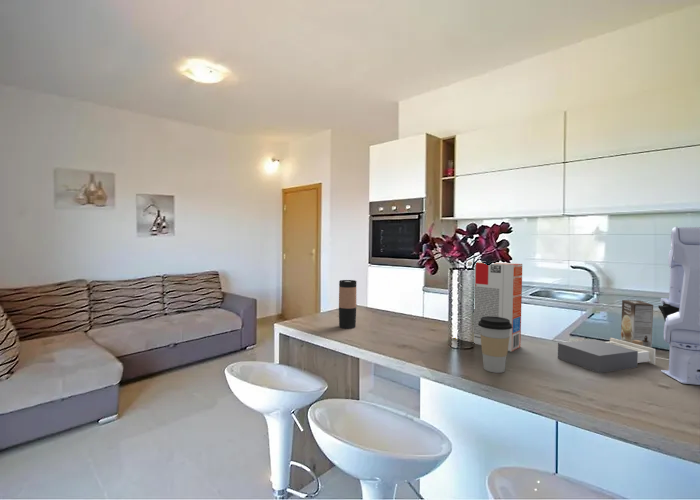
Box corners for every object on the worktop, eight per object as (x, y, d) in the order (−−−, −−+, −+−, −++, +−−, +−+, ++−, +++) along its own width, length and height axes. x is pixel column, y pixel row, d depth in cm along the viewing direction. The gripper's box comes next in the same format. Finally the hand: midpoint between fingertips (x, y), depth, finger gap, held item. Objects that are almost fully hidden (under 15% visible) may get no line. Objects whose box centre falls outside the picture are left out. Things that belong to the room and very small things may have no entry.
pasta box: (520, 346, 133) (522, 263, 133) (511, 351, 128) (513, 264, 127) (461, 334, 149) (463, 260, 149) (451, 338, 144) (452, 261, 143)
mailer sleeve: (598, 372, 108) (599, 355, 107) (557, 358, 121) (558, 342, 121) (637, 367, 113) (637, 351, 113) (593, 353, 126) (594, 339, 126)
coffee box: (619, 341, 143) (621, 299, 142) (638, 342, 141) (639, 300, 141) (632, 347, 134) (634, 303, 133) (653, 349, 132) (654, 304, 132)
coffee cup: (502, 364, 114) (503, 315, 114) (517, 375, 105) (518, 322, 105) (472, 364, 114) (473, 315, 114) (484, 375, 105) (485, 322, 104)
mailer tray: (618, 369, 110) (619, 351, 110) (576, 354, 123) (576, 339, 123) (662, 362, 116) (663, 346, 116) (618, 349, 130) (618, 335, 130)
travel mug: (335, 325, 163) (336, 280, 162) (351, 324, 166) (352, 279, 166) (342, 329, 156) (343, 282, 155) (359, 327, 159) (359, 281, 159)
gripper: (651, 284, 123) (649, 325, 124) (686, 291, 109) (684, 337, 109) (674, 284, 122) (672, 325, 123) (712, 291, 108) (710, 337, 108)
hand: (679, 331), depth 116 cm, fingers open, 7 cm apart
